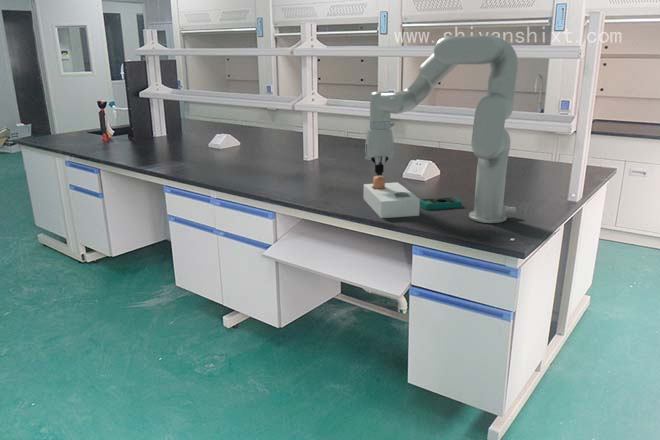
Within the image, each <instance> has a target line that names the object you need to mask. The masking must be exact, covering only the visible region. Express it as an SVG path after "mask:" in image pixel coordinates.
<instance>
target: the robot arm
mask: <svg viewBox="0 0 660 440" xmlns="http://www.w3.org/2000/svg"><path fill="white" fill-rule="evenodd" d="M458 65H489V66H490V71H489V76H488V79H487V80H488V81H487V90H486V95H485V96H484V97H483V98H481V99H480V100H479V101H478V103H477V105H476V108H475V110H474V111H475V112H474V117H473V125H472V126H473V127H472V133H471V149H472V152H473V153H474V154H473V155H475V156H476V157H477V158H478V159H477V165H476V174H475V175H476V177H475V188H474V189H475V190H474V192H475V193H474V205H473V210H472V211H470V212H469V213H468V218H469V219H471V220H472V221H475V222H479V223H484V224H500V223H503V222H505V221H507V219H508V216H507V214H508V213H516V212H517V208H516V206H510V207H509V205H504V200H505V199H504V197H505V189H506V188H505V187H506V178H507V177H506V175H507V168H508V161H509V153H510V150H511V138H510V134H509V132H508V130H507V129H505V123H506V120H508V119H509V118H510V117H511V115H512V113H513V109H514V99H515V92H516V84H517V75H518V70H519V69H518V65H519V62H518V56H517V53H516V50H515V49H514V47H513V46H512V45H511V44H510V43H509V42H508V41H507V40H505V39H504V38H502V37H499V36H495V35H465V36H464V35H462V36H461V35H460V36H458V35H457V36H455V35H453V36H451V35H450V36H449V35H447V36H443V37H441V38H440V39H439V40H437V42H436V43H435V44H434V48H433V53H432V54H430V55H429V56H428V58H426V60H425V61H423V62H422V64H420V65H419V68H418V74H417V76H416V78H415V79H414V80H413V81H412V82H411V83H410V84H409V85H408V87H406V88H405V89H404V90H400V91H394V92H389V91H382V90H380V91H378V90H377V91H373V92H371V94H370V96H369V97H370V98H369V99H370V100H369V102H370V103H369V128H368V129H367V130H366V136H365V146H364V147H365V148H364V154H365V156H364V157H365V158H364V159H365V160H367V161H371V162H372V163H374V173H375V174H376V176H383V173H384V167H385V164H386V163H387V162H388V160H389V161H390V160H393V159H394V148H395V147H394V135H393V129H392V127H394V126H395V123H394V122H392V120H391V114H395V115H397V114H403V113H406V112H411V111H412V110H414V109H415V108H416V107H417V106H418V105H420V104H421V103H422V102H423V101H424V100H425V99H426V98H427V97H428V96H429V95H430V93H432V91H433V90H434V89H435V88H436V87H437V85H438V84H439V83H440V82H441V81H442V80H443V79H444V78H446V76H448V74H450V72H452V70H454V69H455V68H456V67H457V66H458ZM379 158H380V159H379Z"/></svg>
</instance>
